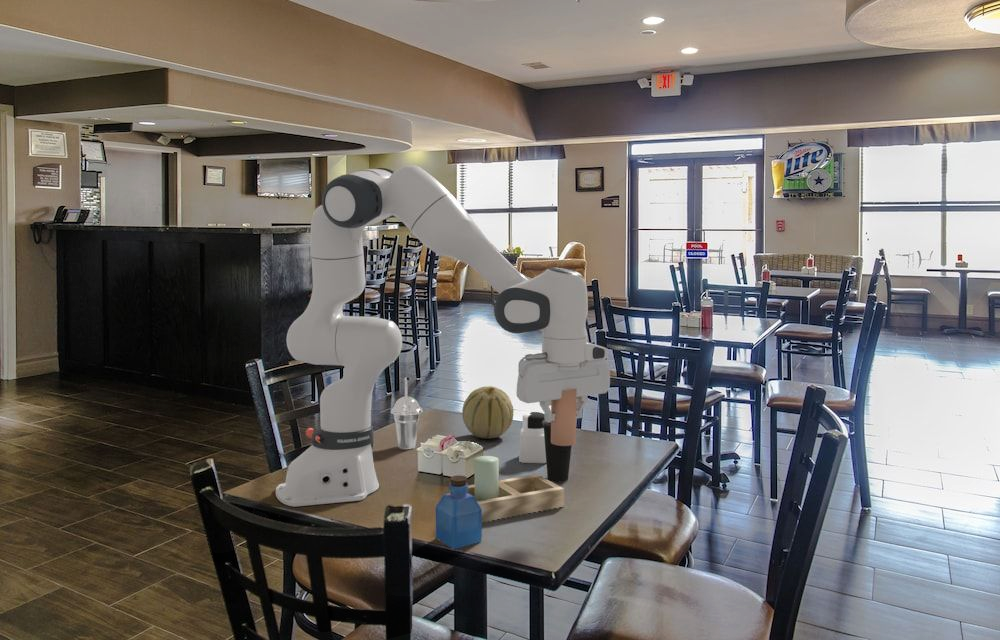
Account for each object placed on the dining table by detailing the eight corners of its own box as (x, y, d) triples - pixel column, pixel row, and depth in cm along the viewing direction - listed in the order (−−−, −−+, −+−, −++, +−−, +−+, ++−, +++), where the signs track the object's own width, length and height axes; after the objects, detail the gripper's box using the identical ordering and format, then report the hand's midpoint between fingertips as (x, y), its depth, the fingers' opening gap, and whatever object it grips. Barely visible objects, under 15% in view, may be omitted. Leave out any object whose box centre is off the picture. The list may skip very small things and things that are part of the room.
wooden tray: (474, 524, 149) (474, 504, 149) (451, 506, 159) (451, 488, 158) (563, 507, 159) (564, 488, 159) (536, 491, 169) (537, 474, 168)
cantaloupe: (489, 428, 224) (489, 378, 222) (524, 438, 213) (524, 385, 212) (450, 437, 214) (450, 385, 212) (485, 447, 203) (485, 393, 202)
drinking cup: (565, 472, 183) (566, 390, 180) (579, 481, 176) (581, 397, 173) (536, 475, 180) (537, 393, 178) (549, 485, 173) (551, 399, 171)
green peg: (481, 516, 153) (481, 464, 152) (470, 509, 158) (470, 457, 156) (502, 512, 156) (503, 460, 154) (491, 505, 160) (491, 454, 159)
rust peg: (559, 447, 147) (560, 391, 146) (545, 440, 151) (546, 387, 150) (580, 443, 149) (581, 389, 148) (566, 437, 154) (567, 384, 152)
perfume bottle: (453, 549, 137) (453, 485, 136) (435, 538, 142) (435, 476, 141) (481, 541, 141) (481, 479, 140) (463, 531, 146) (463, 470, 145)
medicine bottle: (548, 455, 196) (549, 410, 195) (547, 464, 189) (548, 417, 188) (521, 454, 197) (521, 409, 196) (519, 463, 190) (519, 416, 189)
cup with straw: (427, 444, 207) (426, 372, 204) (415, 453, 198) (415, 378, 196) (398, 441, 209) (397, 370, 207) (385, 450, 200) (384, 376, 198)
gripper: (527, 357, 140) (527, 430, 142) (615, 349, 150) (613, 417, 152) (510, 352, 146) (510, 422, 147) (596, 344, 156) (595, 410, 157)
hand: (563, 419), depth 150 cm, fingers closed on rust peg, 5 cm apart
